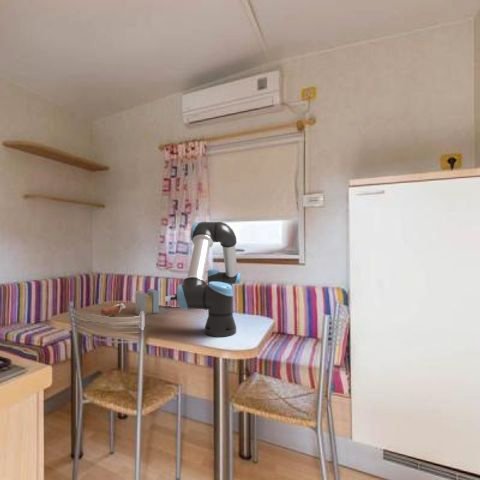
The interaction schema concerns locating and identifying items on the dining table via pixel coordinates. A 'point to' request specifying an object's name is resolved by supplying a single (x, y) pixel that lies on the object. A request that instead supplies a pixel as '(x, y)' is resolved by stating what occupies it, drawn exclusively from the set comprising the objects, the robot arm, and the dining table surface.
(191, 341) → the dining table surface
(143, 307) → the vise
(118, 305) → the bull figurine
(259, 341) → the dining table surface
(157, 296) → the free jaw
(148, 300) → the block
